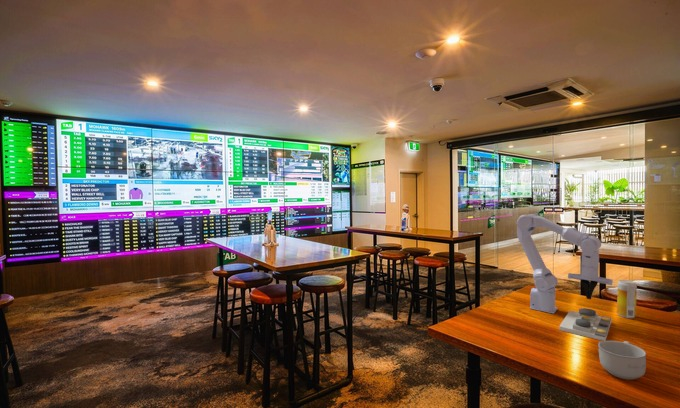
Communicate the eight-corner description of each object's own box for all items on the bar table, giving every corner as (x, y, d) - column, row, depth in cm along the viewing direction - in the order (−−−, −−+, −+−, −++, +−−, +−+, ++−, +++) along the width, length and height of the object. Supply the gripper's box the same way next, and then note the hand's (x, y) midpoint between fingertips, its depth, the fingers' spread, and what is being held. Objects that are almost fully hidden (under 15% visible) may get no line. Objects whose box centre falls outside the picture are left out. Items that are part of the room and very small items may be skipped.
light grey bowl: (635, 388, 90) (635, 360, 90) (590, 369, 100) (590, 344, 99) (657, 374, 97) (657, 348, 96) (612, 358, 106) (613, 334, 106)
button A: (574, 328, 125) (574, 321, 125) (576, 324, 128) (576, 318, 128) (589, 332, 122) (589, 325, 121) (591, 328, 125) (591, 321, 125)
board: (559, 330, 127) (559, 322, 127) (569, 313, 143) (569, 307, 143) (605, 341, 117) (605, 333, 117) (611, 322, 133) (611, 315, 133)
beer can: (628, 313, 143) (629, 279, 142) (639, 319, 136) (640, 283, 136) (613, 313, 143) (614, 279, 142) (623, 318, 137) (625, 283, 136)
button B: (577, 317, 130) (578, 311, 130) (579, 314, 133) (579, 307, 133) (592, 320, 127) (592, 314, 127) (594, 317, 130) (594, 310, 130)
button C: (580, 317, 135) (581, 310, 135) (582, 313, 139) (582, 307, 139) (594, 320, 132) (595, 313, 132) (596, 316, 136) (596, 310, 135)
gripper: (566, 265, 137) (566, 296, 137) (611, 271, 127) (610, 305, 127) (570, 262, 142) (569, 292, 142) (613, 267, 132) (612, 300, 132)
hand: (588, 298), depth 135 cm, fingers closed
